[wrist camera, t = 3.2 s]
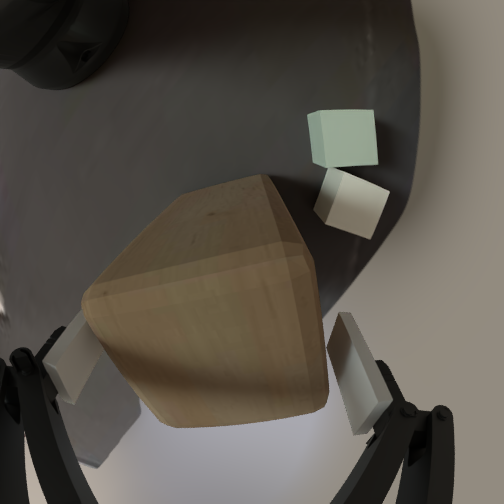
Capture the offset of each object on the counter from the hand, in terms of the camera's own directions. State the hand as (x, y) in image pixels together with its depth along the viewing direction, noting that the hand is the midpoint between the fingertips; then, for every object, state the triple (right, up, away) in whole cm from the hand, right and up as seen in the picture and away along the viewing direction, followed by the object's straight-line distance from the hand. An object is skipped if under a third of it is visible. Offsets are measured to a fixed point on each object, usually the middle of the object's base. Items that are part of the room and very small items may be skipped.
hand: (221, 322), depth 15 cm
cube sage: (+10, +16, +11) cm, 21 cm away
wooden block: (0, +7, +14) cm, 16 cm away
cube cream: (+11, +10, +13) cm, 20 cm away
